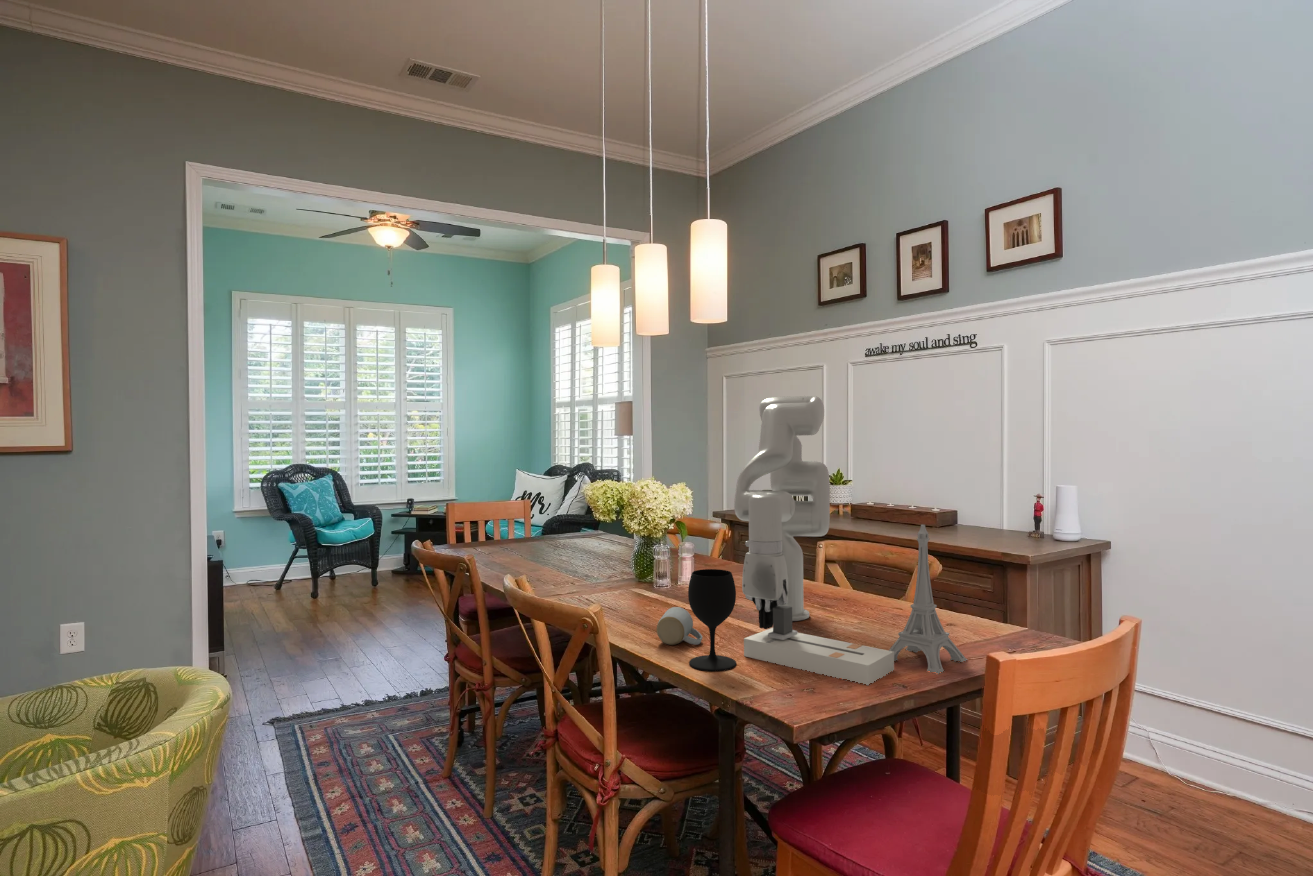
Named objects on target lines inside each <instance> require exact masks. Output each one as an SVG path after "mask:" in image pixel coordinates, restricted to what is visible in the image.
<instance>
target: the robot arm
mask: <svg viewBox="0 0 1313 876" xmlns="http://www.w3.org/2000/svg"><path fill="white" fill-rule="evenodd" d="M759 417H760V420H761V425H760V433H759V442H758V443H759V444H758V445H759V446H758V452H757V454H756V455H755V456H754V457H753V458H751V459H750V460H749V461H748V462H747V463H746V464H745V466H744V467H743V468H742V469H741V471H740V473H739V474H738V477H737V481H736V488H735V494H734V503H733V506H734V507H733V508H734V509H733V510H734V513H735V516H736V517H737V518H738V519H739V520H740V521H743V522H748V540H746V541H745V543H744V544H745V547H748V552H746V553H745V555H744V560H743V568H742V580H741V581H742V582H741V584H742V586H741V589H742V594H743V595H745V597H744V598H745V599H747V600H749V601H751V602H752V603H753V604H754V605H755V609H756V610H757V611H758V622H759V624H758V625H759V626H758V627H759V629H763V630H768V629H771V628H773V608H774V607H777V606H780V605H784V606H790V607H792V622H798V621H804V620H807V619H809V617H810V612H809V610H808V609H805V608H804V554H803V549H802V547H801V546H800V544H799V543H798V541H797V540H796V538H794V537H824V536H825V535H827V533H828V532H829V530H830V522H831V521H830V520H831V519H830V517H831V515H830V514H831V513H830V510H831V508H830V507H831V506H830V503H831V502H830V501H831V500H830V499H831V496H830V492H831V491H830V487H831V486H830V485H831V484H830V472H829V470H828V467H827V465H826V464H825V463H823V462H821V461H815V460H814V461H812V460H811V461H803V460H802V457H803V456H802V455H803V454H802V450H803V449H802V447H803V445H802V442H801V440H800V439H799V436H814V435H816V434H818V433H819V431H820V429H821V427H822V424H823V421H824V418H825V406H824V402H823V400H822V398H820V397H819V396H816V395H814V396H813V395H810V396H809V395H808V396H805V395H804V396H774V397H768V398H765V399H764V400H762V401H761V402H760V404H759ZM768 474H770V475H769V476H770V477H769V479H770V489H771V490H768V489H767V490H763V489H762V490H761V489H760V490H759V489H758V490H756V489H753V490H751V489H750V488H751V486H752V484H754V482H755V481H756V480H757V481H758V479H760V478H762V477H763V476H766V475H768ZM793 497H810V498H812V501H811V500H795V499H794V498H793Z"/></svg>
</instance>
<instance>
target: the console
mask: <svg viewBox="0 0 1313 876" xmlns="http://www.w3.org/2000/svg"><path fill="white" fill-rule="evenodd" d="M770 632H773V627H771V628H768V629H764V630H763V631H761V632H758V633H754V634H751V635H750V636H747V637H743V657H747V658H750V659H751V658H752V659H754V660H760V661H762V662H763V661H764V662H767V661H768V662H767V663H772V664H775V663H776V664H777V665H781V666H784V665H785V666H784V667H789V668H792V667H793V669H798V670H801V669H802V670H801V671H805V670H807V671H806V672H809V671H810V673H813V672H815V673H814V674H818V675H822V674H824V675H823V676H826V675H827V677H830V676H832V678H835V677H836V679H839V678H842V679H841V680H843V679H847V680H850V681H849V682H852V681H855V682H854V683H856V682H858V683H857V684H860V683H863V684H862V685H864V684H866V686H870V685H871V684H870V683H872V684H873V683H875V682H876V680H877V679H879V678H880V679H882V678H883V676H884V677H886V676H887V675H889V674H890V673H889V672H891V671H892V672H893V670H894V671H895V662H894V652H893V651H889V649H882V648H877V647H872V646H867V645H863V644H857V643H851V642H847V641H842V640H838V639H832V638H827V637H822V636H818V635H813V634H812V635H811V634H807V633H802V632H798V631H797V635H795V636H792V637H790V638H787V639H785V640H780V639H776V638H771V637H768V633H770ZM892 672H891V673H892ZM888 673H889V674H888ZM886 674H887V675H886ZM880 679H879V680H880ZM847 680H846V681H847ZM874 681H875V682H874ZM877 681H878V680H877ZM869 684H870V685H869Z"/></svg>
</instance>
